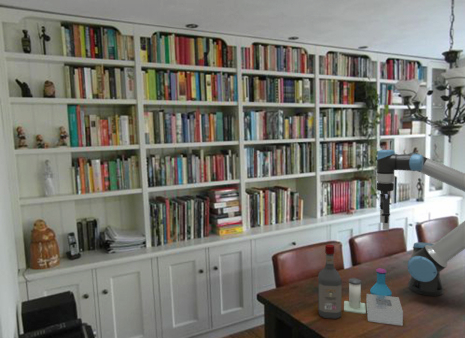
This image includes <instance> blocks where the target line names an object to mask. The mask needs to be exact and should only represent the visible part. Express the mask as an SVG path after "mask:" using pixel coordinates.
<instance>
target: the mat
mask: <svg viewBox="0 0 465 338" xmlns="http://www.w3.org/2000/svg"><path fill="white" fill-rule="evenodd" d="M343 312H347V313H353V314H354V313H355V314H364V315H366V314H367V307H366V303H365V302H361V303H360V308H359V309H353V308H350V307H349V300H344V301H343Z"/></svg>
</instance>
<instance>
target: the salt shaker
mask: <svg viewBox="0 0 465 338" xmlns="http://www.w3.org/2000/svg"><path fill="white" fill-rule="evenodd" d="M348 287H349V289H348V299H349V300H348V301H349V307H350V308H353V309H359V308H360V303H362V302H361V299H362V298H361V294H362V293H361V291H362V289H361V288H362V280H361V279H359V278H356V277H351V278H349V279H348Z"/></svg>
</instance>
